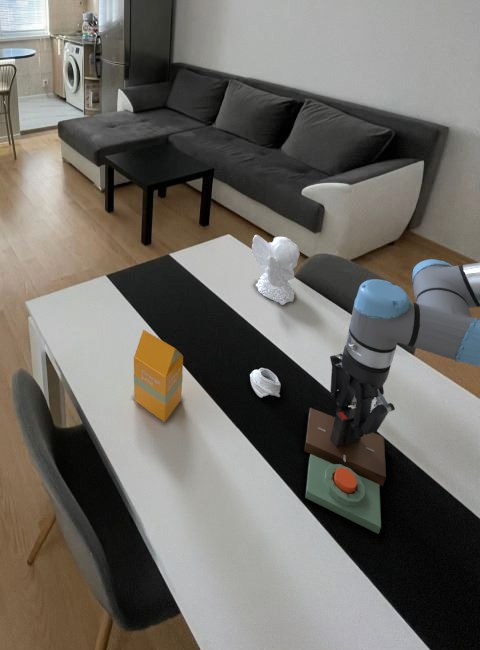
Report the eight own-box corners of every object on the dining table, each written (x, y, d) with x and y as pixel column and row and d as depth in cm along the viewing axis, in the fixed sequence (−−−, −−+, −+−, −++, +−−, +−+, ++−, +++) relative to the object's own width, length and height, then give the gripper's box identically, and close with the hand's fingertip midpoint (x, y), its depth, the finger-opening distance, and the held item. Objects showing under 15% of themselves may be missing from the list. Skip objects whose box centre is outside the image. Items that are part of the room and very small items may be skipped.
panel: (380, 443, 92) (384, 433, 91) (383, 489, 84) (386, 479, 83) (308, 414, 99) (310, 404, 98) (304, 454, 91) (306, 444, 90)
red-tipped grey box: (353, 431, 92) (361, 405, 89) (360, 439, 90) (368, 413, 87) (329, 439, 91) (336, 412, 88) (336, 447, 89) (343, 420, 86)
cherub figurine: (303, 307, 130) (313, 253, 122) (262, 309, 130) (269, 255, 123) (284, 279, 142) (292, 228, 134) (247, 280, 142) (252, 230, 135)
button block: (377, 491, 84) (381, 478, 82) (378, 534, 78) (383, 521, 76) (308, 460, 90) (311, 448, 88) (305, 498, 84) (308, 485, 82)
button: (355, 479, 83) (357, 473, 82) (355, 497, 80) (357, 491, 79) (334, 469, 85) (335, 463, 84) (333, 487, 82) (334, 481, 81)
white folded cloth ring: (244, 378, 110) (243, 363, 108) (268, 371, 110) (268, 356, 109) (261, 404, 102) (261, 389, 101) (287, 397, 103) (287, 382, 101)
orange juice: (164, 422, 99) (166, 359, 92) (133, 400, 105) (132, 339, 97) (181, 399, 104) (184, 337, 97) (151, 378, 110) (152, 319, 103)
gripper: (321, 329, 87) (305, 409, 96) (385, 393, 74) (360, 478, 83) (352, 321, 89) (334, 400, 98) (420, 382, 75) (392, 468, 84)
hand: (345, 436), depth 90 cm, fingers closed on red-tipped grey box, 2 cm apart
